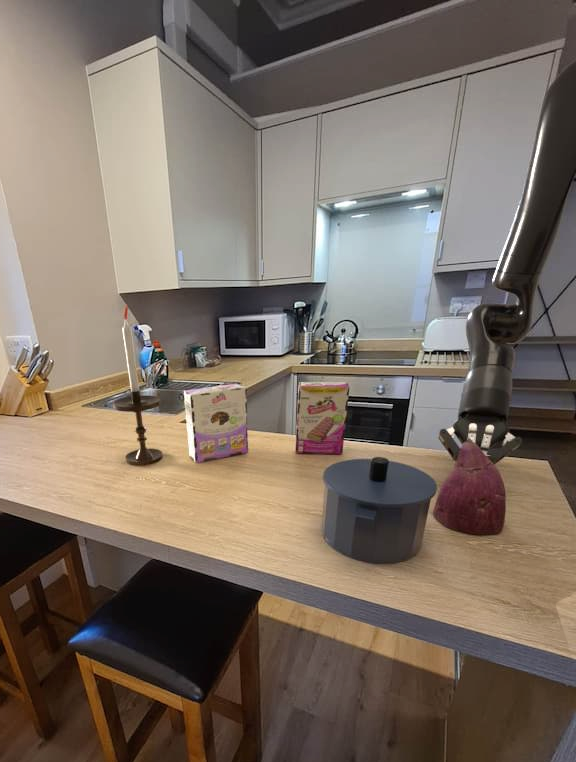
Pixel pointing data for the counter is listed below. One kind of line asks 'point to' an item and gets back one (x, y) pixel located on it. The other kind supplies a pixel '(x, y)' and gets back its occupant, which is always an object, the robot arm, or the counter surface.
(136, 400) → the candlestick
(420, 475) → the pot lid
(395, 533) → the pot
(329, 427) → the candy bar box
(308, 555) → the counter surface
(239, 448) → the candy box
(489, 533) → the vegetable
